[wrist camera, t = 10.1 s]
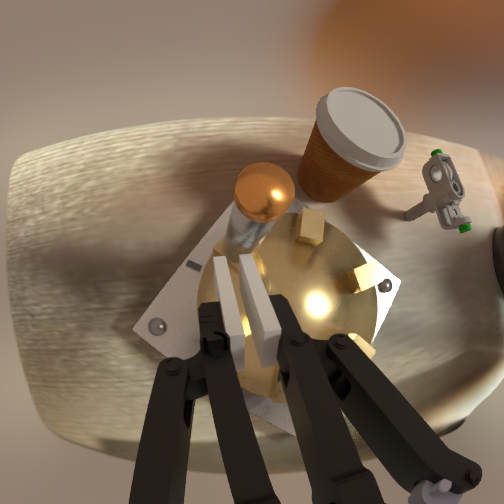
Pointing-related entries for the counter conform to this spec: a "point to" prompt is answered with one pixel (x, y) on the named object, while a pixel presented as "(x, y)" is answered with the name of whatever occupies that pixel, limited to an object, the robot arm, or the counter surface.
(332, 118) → the disposable coffee cup
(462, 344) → the counter surface
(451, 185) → the mechanical component
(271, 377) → the brass turntable plate
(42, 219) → the counter surface
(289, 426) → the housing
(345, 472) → the robot arm
